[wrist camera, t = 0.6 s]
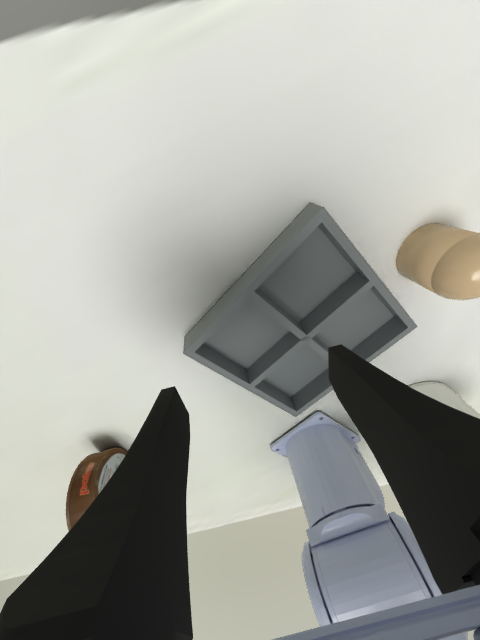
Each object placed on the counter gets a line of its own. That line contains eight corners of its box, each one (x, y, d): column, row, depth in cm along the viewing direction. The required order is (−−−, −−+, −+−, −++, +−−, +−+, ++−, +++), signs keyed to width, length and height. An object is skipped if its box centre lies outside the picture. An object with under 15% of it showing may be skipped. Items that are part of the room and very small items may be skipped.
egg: (457, 249, 20) (540, 275, 15) (409, 287, 22) (471, 323, 17) (437, 210, 18) (525, 226, 13) (386, 255, 20) (449, 284, 15)
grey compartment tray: (399, 313, 23) (417, 326, 21) (289, 399, 27) (295, 416, 25) (309, 202, 17) (323, 207, 15) (184, 336, 21) (183, 353, 19)
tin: (85, 438, 26) (42, 541, 19) (113, 429, 26) (81, 529, 19) (151, 497, 34) (139, 585, 27) (173, 491, 34) (166, 577, 27)
